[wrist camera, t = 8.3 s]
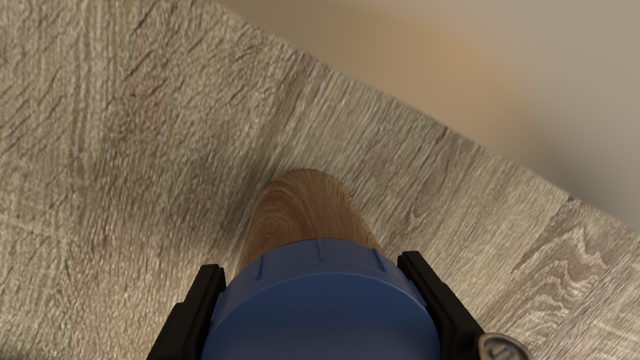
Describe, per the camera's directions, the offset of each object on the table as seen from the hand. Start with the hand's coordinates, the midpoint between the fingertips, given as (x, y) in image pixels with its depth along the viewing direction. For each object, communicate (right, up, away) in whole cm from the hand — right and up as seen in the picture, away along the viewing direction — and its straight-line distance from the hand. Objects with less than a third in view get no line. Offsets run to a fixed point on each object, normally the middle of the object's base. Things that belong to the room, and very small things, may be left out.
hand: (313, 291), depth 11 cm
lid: (0, -1, -3) cm, 3 cm away
